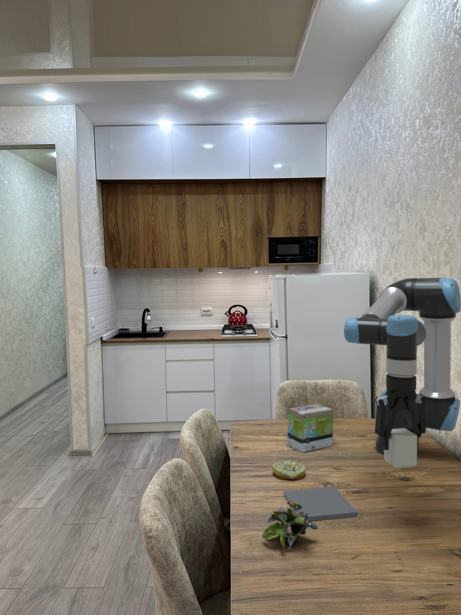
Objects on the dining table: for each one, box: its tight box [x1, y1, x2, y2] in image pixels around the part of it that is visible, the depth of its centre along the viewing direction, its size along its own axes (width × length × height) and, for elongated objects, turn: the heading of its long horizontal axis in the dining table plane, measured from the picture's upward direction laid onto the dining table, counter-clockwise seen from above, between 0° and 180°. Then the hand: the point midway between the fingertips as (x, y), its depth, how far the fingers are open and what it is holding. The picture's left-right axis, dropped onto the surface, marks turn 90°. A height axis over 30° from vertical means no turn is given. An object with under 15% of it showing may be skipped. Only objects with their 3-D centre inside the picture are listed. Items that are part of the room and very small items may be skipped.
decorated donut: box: [272, 459, 307, 481], centre depth 156 cm, size 10×11×4 cm
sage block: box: [384, 428, 418, 468], centre depth 125 cm, size 6×6×8 cm
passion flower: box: [261, 501, 319, 553], centre depth 115 cm, size 11×11×12 cm
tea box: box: [286, 403, 334, 453], centre depth 182 cm, size 15×10×15 cm, turn 120°
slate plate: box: [283, 486, 358, 522], centre depth 134 cm, size 16×16×1 cm
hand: (399, 460), depth 125 cm, fingers closed on sage block, 6 cm apart
